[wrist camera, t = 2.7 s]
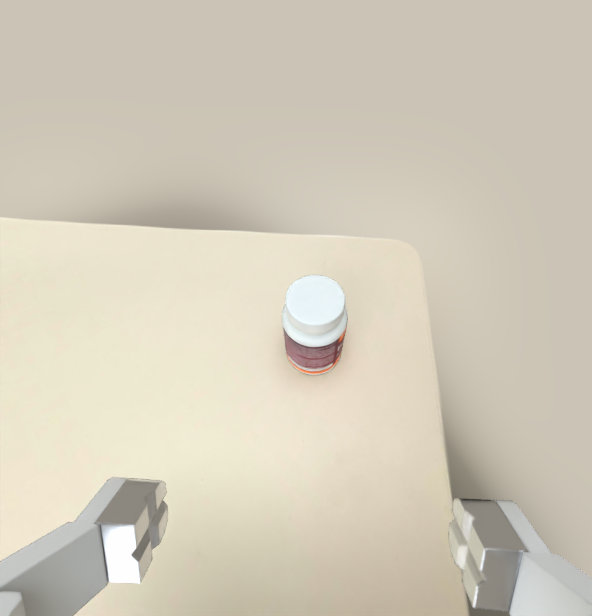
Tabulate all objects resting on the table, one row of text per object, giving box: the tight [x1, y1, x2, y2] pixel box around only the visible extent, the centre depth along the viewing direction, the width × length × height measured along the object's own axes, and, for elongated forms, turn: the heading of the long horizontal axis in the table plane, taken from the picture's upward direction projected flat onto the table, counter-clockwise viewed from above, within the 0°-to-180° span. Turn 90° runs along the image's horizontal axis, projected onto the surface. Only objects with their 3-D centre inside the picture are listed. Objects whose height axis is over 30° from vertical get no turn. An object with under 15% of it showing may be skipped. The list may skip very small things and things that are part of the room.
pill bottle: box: [282, 275, 348, 375], centre depth 27 cm, size 5×5×8 cm
